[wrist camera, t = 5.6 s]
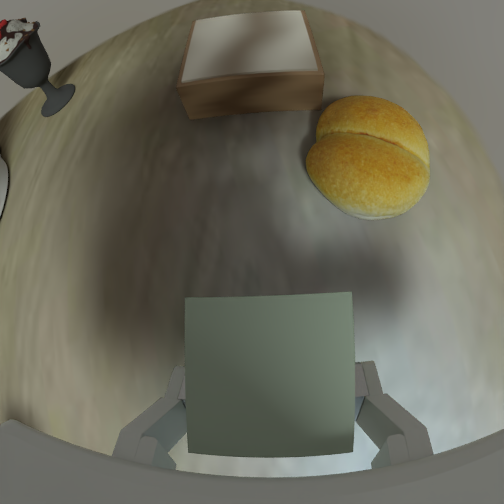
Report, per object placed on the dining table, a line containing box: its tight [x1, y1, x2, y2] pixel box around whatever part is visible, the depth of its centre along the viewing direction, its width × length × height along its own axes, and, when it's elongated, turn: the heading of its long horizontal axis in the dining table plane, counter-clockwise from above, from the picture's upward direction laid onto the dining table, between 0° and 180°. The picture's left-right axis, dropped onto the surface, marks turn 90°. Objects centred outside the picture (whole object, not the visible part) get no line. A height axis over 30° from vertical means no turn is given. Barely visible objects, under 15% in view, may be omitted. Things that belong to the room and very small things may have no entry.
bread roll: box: [306, 96, 430, 220], centre depth 17 cm, size 8×9×4 cm
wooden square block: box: [176, 11, 324, 120], centre depth 21 cm, size 10×10×4 cm
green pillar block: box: [185, 291, 355, 458], centre depth 12 cm, size 5×5×9 cm
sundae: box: [0, 18, 75, 117], centre depth 18 cm, size 7×7×15 cm
